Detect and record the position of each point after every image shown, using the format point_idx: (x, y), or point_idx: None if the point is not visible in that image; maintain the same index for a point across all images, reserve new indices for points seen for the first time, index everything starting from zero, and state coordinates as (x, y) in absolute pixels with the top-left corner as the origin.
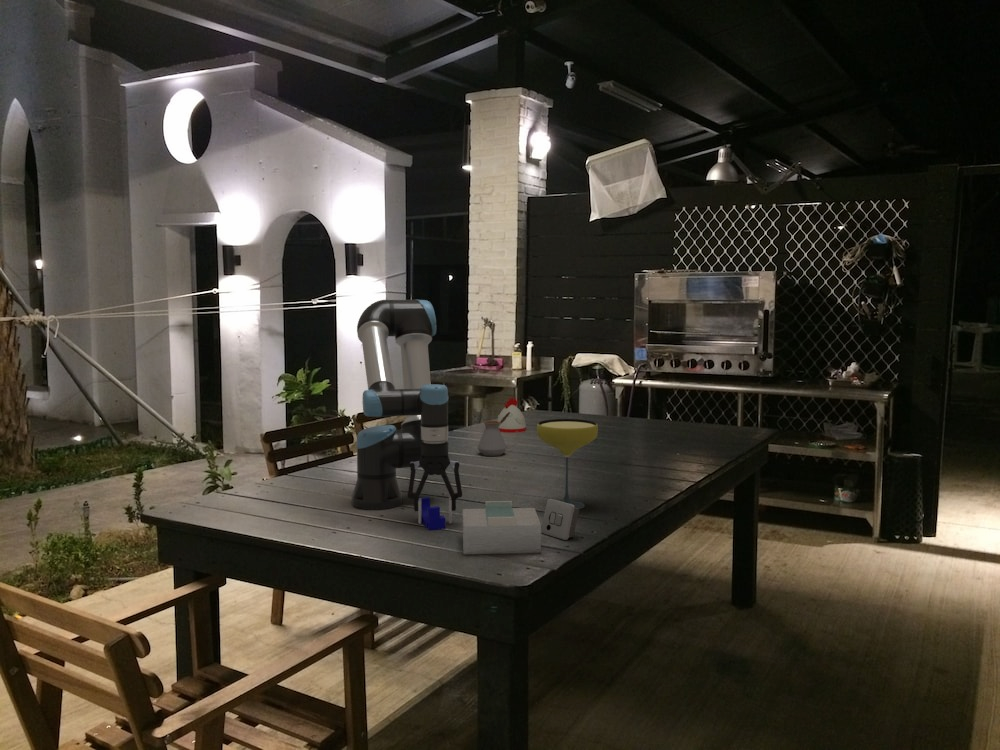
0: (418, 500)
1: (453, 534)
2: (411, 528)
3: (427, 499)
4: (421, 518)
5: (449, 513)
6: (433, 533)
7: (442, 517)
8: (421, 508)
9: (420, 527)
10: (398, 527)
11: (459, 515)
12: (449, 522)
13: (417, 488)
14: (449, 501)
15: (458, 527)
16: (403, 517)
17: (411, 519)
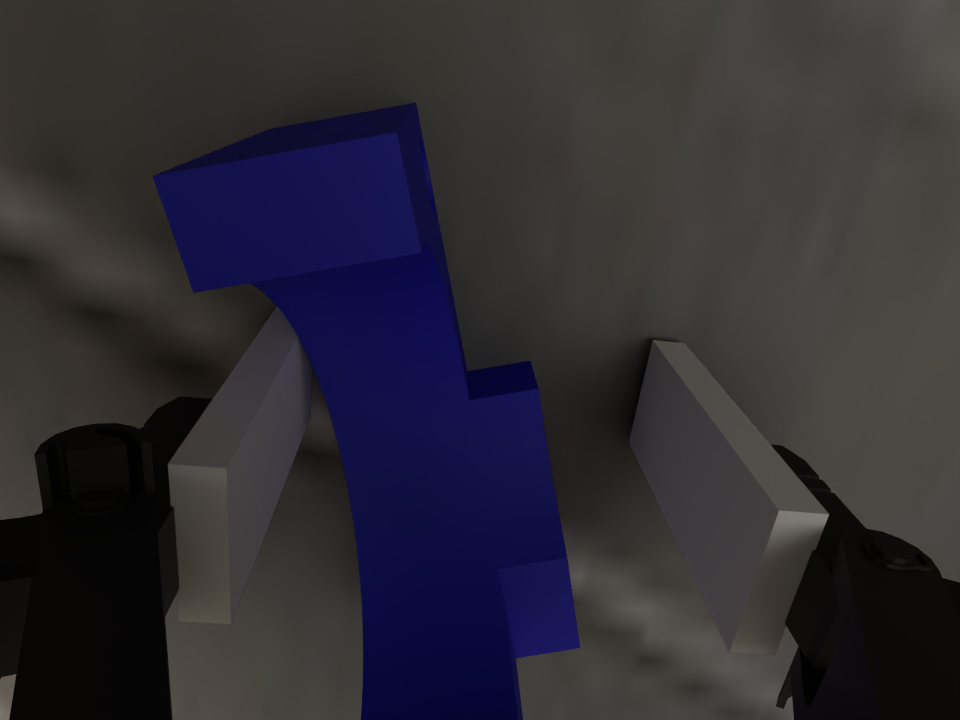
0: (181, 603)
1: (602, 705)
2: None
3: (369, 258)
4: None
5: (668, 512)
6: None
7: (551, 628)
8: (278, 284)
9: (306, 491)
10: None
11: (860, 59)
12: (636, 446)
13: (25, 667)
14: (732, 636)
15: None
16: (33, 15)
17: (172, 151)
